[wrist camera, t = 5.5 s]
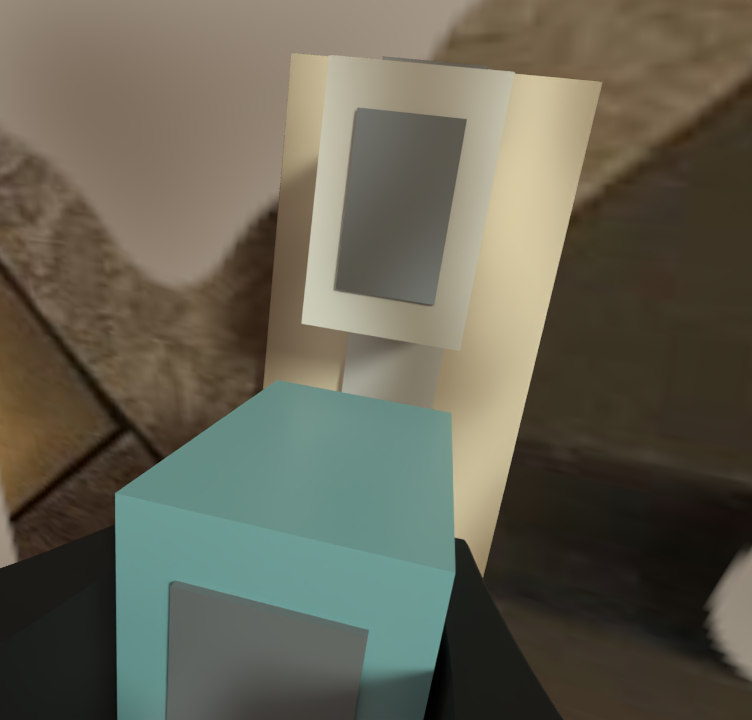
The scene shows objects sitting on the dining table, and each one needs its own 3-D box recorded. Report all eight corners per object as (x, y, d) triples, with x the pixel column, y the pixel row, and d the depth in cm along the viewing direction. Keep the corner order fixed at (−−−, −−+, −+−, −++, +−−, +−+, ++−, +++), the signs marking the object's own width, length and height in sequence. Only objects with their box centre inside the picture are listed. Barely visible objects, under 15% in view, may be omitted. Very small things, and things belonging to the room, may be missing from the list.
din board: (251, 615, 21) (171, 761, 15) (301, 66, 15) (203, -66, 9) (455, 669, 20) (459, 851, 14) (591, 94, 14) (703, -36, 8)
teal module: (258, 596, 11) (113, 852, 6) (277, 380, 10) (109, 496, 5) (408, 634, 11) (375, 941, 6) (451, 412, 9) (455, 579, 4)
